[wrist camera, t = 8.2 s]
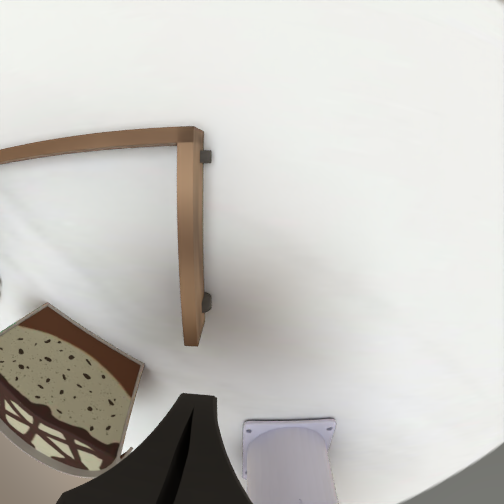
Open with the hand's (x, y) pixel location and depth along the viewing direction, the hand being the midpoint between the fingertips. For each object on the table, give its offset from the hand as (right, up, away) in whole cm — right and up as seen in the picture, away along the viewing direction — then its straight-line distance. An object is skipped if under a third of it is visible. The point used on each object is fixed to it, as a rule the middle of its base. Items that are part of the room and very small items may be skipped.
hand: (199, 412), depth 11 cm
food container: (-12, -3, +12) cm, 17 cm away
